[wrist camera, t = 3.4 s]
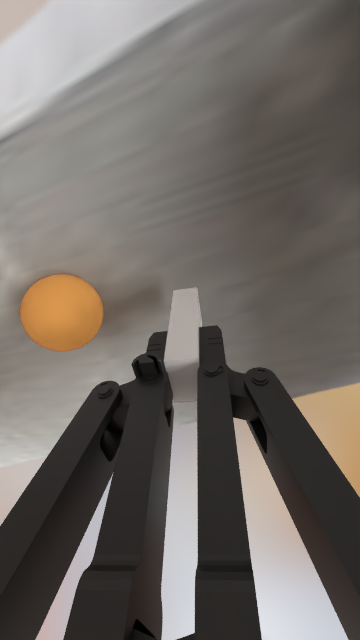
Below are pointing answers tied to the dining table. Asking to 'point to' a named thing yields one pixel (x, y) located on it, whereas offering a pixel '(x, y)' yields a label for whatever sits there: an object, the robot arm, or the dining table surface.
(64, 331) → the ball
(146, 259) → the dining table surface
